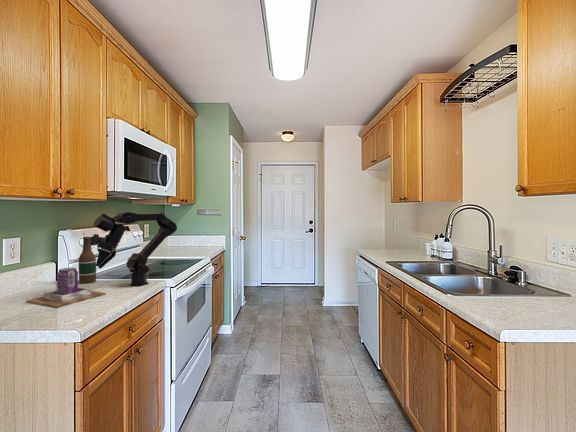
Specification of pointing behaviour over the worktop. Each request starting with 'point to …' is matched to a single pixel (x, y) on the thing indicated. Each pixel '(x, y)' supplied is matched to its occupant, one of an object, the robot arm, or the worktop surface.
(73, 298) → the can holder
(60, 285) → the beverage can
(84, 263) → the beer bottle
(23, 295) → the worktop surface
